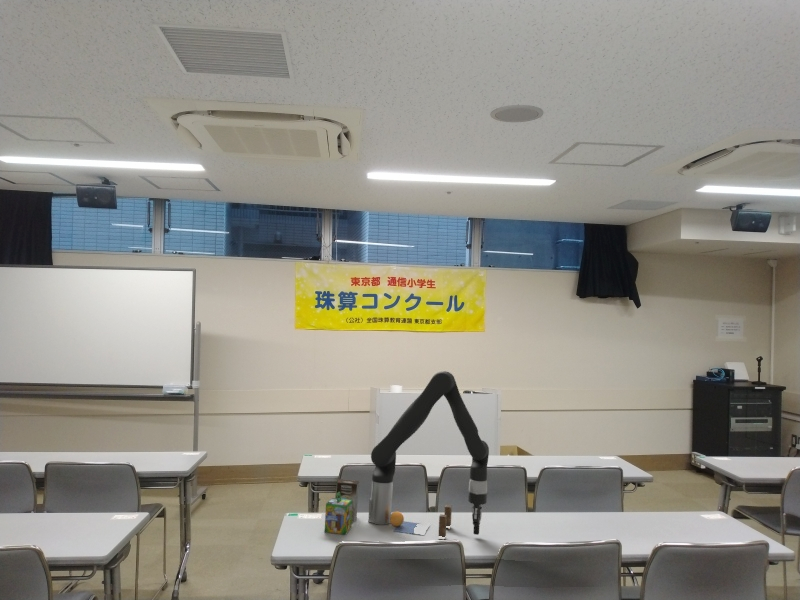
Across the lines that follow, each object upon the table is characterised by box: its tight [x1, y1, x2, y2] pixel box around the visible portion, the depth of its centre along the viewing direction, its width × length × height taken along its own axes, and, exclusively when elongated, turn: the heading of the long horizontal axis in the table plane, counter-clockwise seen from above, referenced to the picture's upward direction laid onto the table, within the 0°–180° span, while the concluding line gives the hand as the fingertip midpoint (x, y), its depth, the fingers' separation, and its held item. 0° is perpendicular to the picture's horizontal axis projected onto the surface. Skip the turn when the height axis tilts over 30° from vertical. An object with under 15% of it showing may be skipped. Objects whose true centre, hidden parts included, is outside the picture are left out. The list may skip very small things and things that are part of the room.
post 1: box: [438, 513, 447, 537], centre depth 206 cm, size 3×3×9 cm
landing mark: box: [393, 520, 420, 535], centre depth 216 cm, size 13×13×1 cm
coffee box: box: [335, 478, 360, 523], centre depth 224 cm, size 9×6×16 cm
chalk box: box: [324, 492, 353, 535], centre depth 210 cm, size 9×9×15 cm
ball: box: [390, 511, 405, 528], centre depth 218 cm, size 6×6×6 cm
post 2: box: [443, 504, 453, 526], centre depth 219 cm, size 3×3×9 cm
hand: (476, 533), depth 209 cm, fingers closed
